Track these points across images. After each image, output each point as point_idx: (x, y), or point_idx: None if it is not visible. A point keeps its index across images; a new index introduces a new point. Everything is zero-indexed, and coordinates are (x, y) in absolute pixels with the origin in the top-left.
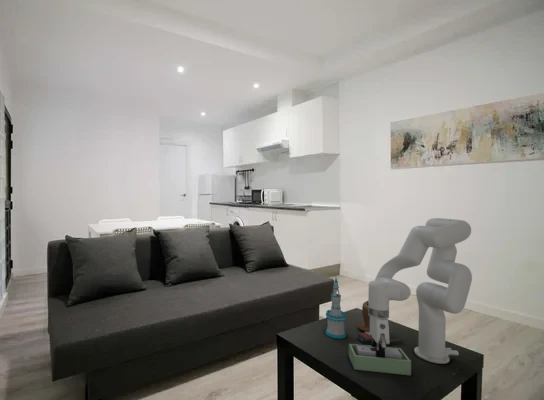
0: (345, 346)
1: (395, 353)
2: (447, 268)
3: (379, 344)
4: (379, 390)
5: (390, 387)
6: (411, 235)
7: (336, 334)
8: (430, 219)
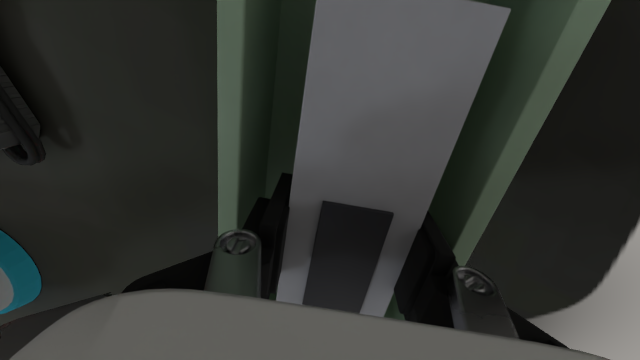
0: (131, 265)
1: (447, 92)
2: None
3: (279, 237)
4: (570, 280)
5: (573, 220)
6: None
7: (6, 288)
8: None
